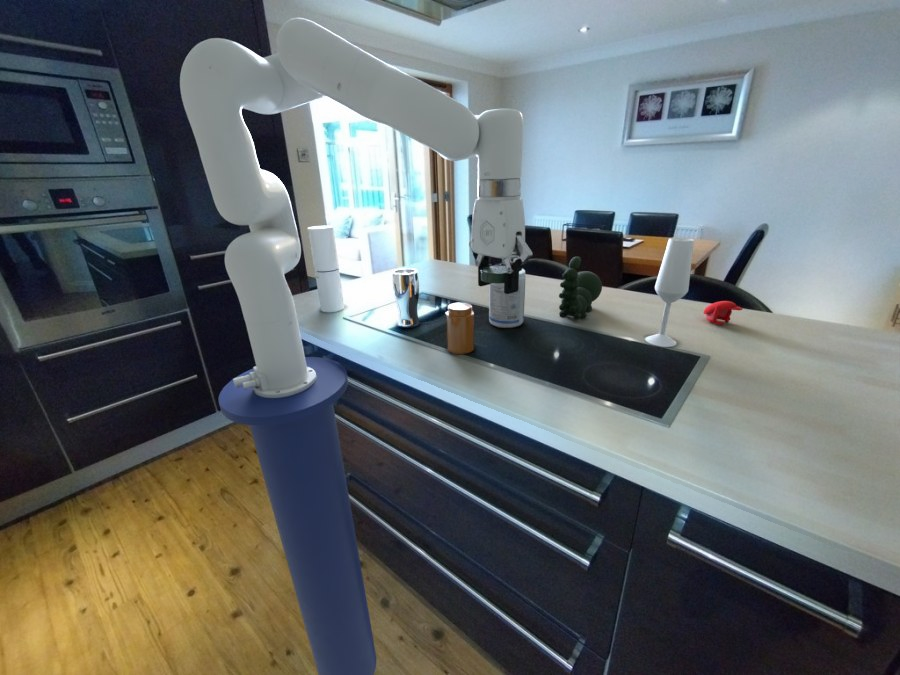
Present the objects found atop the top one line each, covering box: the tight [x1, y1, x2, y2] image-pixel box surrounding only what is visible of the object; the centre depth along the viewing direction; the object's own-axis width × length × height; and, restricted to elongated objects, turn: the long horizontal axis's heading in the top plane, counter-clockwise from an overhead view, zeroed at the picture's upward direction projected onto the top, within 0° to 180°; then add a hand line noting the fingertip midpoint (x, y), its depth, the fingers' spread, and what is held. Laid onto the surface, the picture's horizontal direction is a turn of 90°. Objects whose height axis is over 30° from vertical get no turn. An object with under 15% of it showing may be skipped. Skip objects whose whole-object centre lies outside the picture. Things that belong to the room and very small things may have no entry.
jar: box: [445, 301, 475, 355], centre depth 90 cm, size 6×6×11 cm
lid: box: [480, 265, 507, 284], centre depth 74 cm, size 7×7×2 cm
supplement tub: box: [488, 268, 527, 329], centre depth 104 cm, size 10×10×15 cm
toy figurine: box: [558, 256, 603, 321], centre depth 109 cm, size 9×19×25 cm
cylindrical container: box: [307, 225, 345, 313], centre depth 118 cm, size 7×7×25 cm
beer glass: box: [392, 267, 421, 329], centre depth 105 cm, size 7×7×15 cm
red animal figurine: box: [702, 300, 743, 326], centre depth 102 cm, size 8×6×6 cm
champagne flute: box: [644, 237, 695, 348], centre depth 88 cm, size 7×7×24 cm
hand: (497, 287), depth 75 cm, fingers closed on lid, 6 cm apart
